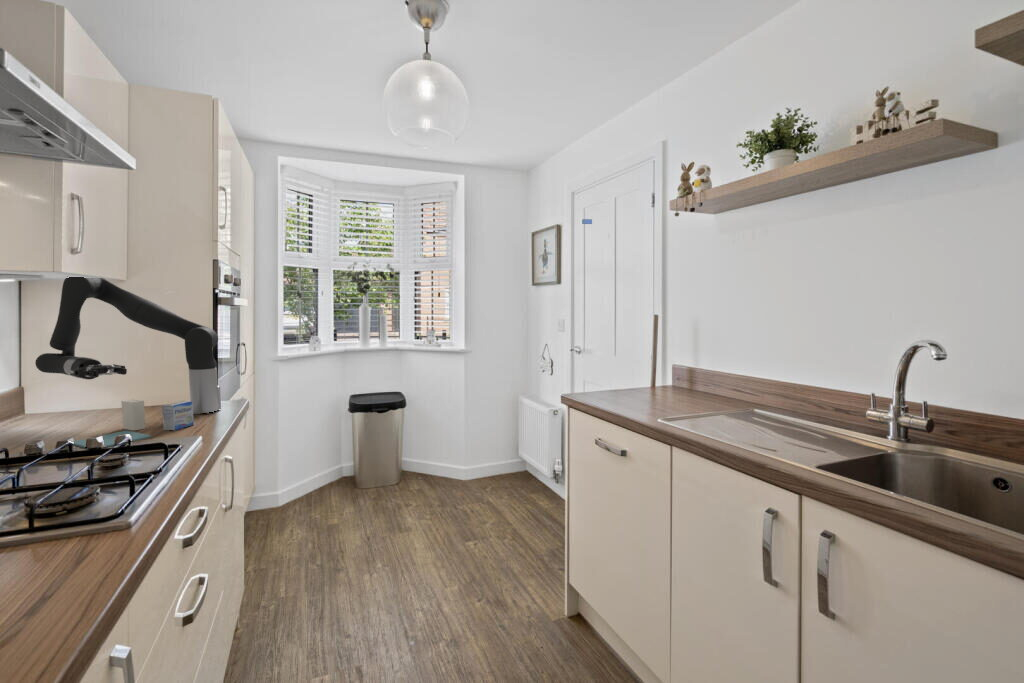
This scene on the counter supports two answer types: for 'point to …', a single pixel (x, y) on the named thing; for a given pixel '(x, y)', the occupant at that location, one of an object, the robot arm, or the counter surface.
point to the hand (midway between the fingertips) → (111, 372)
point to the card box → (133, 414)
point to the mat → (110, 438)
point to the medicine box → (178, 415)
